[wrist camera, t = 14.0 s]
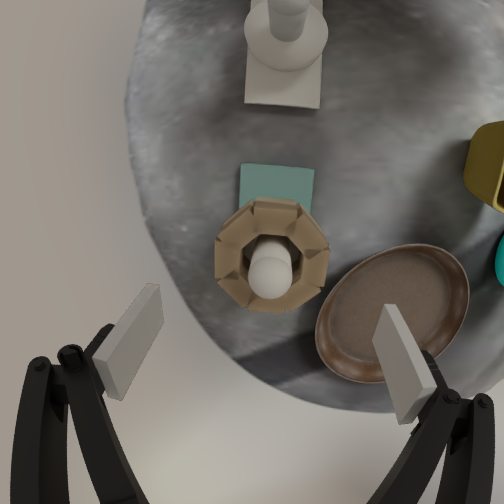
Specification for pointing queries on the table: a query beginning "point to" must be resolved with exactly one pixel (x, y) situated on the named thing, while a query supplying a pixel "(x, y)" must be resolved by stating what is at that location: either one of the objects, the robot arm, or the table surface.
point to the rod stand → (285, 52)
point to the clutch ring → (273, 223)
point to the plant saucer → (391, 292)
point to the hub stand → (273, 246)
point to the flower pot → (487, 165)
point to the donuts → (500, 262)
